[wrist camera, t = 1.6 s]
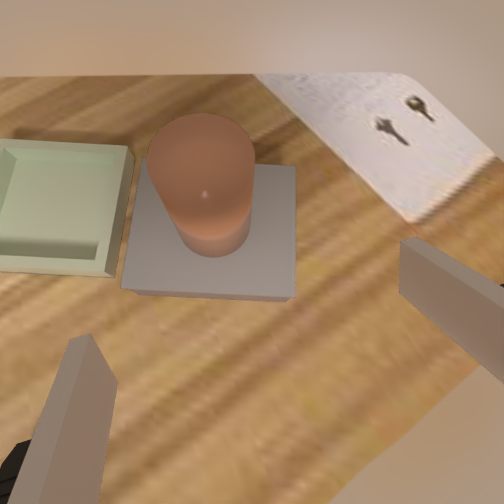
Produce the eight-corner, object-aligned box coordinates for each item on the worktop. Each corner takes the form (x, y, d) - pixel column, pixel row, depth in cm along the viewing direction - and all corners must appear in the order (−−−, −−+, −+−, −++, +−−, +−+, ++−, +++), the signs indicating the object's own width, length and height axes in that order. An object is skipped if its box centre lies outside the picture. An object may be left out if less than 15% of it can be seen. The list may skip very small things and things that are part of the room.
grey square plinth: (135, 296, 31) (120, 287, 27) (153, 180, 35) (142, 157, 31) (288, 304, 31) (295, 296, 27) (289, 187, 35) (296, 166, 31)
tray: (-24, 270, 31) (-45, 263, 29) (13, 152, 35) (-4, 138, 33) (114, 277, 31) (104, 271, 29) (135, 160, 35) (127, 145, 33)
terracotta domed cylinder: (173, 255, 28) (138, 203, 18) (181, 188, 30) (154, 109, 20) (248, 259, 28) (252, 209, 19) (252, 192, 30) (257, 116, 20)
